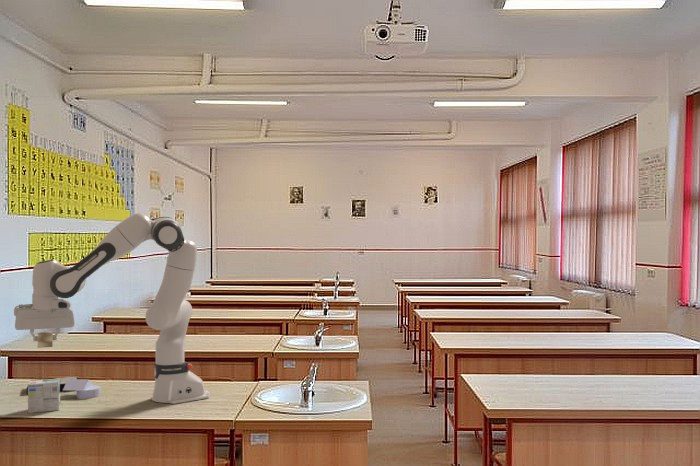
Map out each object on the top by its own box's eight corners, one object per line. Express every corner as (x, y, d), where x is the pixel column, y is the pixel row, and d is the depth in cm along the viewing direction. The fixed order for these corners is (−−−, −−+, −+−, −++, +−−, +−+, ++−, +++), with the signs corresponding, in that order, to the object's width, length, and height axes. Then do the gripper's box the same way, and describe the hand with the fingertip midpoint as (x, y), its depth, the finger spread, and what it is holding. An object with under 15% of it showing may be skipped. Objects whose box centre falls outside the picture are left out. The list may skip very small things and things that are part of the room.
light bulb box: (60, 406, 253) (60, 377, 253) (59, 410, 247) (59, 381, 247) (29, 409, 249) (29, 380, 249) (27, 413, 243) (27, 384, 243)
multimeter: (29, 389, 282) (28, 377, 282) (77, 384, 290) (77, 373, 290) (26, 396, 270) (26, 383, 270) (77, 391, 277) (77, 379, 277)
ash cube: (52, 344, 251) (52, 331, 251) (52, 346, 246) (52, 333, 246) (37, 345, 249) (37, 332, 249) (37, 347, 244) (37, 334, 244)
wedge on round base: (62, 398, 264) (94, 398, 263) (62, 381, 264) (94, 382, 263) (73, 393, 273) (104, 393, 272) (73, 376, 273) (104, 377, 272)
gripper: (13, 305, 240) (13, 343, 240) (74, 303, 249) (74, 340, 249) (14, 303, 246) (14, 341, 246) (74, 301, 255) (73, 337, 255)
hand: (45, 340), depth 248 cm, fingers closed on ash cube, 5 cm apart
